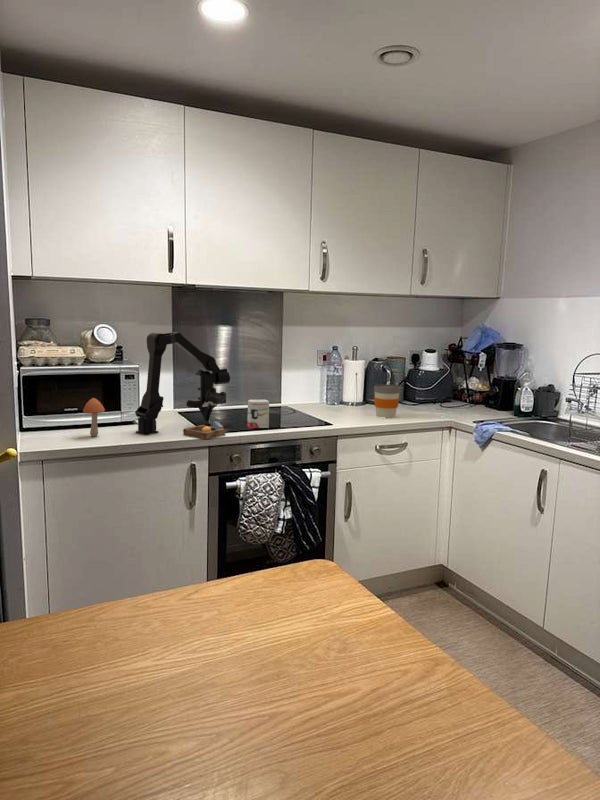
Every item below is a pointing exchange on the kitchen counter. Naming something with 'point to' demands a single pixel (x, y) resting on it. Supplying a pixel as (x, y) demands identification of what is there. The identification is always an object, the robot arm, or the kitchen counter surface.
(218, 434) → the wooden tray
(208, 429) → the ball
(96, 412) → the mushroom
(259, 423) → the ink box
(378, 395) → the reusable coffee cup
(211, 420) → the lever
